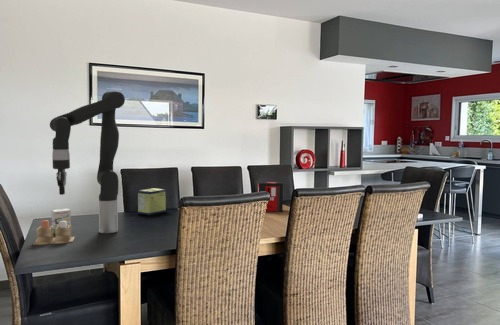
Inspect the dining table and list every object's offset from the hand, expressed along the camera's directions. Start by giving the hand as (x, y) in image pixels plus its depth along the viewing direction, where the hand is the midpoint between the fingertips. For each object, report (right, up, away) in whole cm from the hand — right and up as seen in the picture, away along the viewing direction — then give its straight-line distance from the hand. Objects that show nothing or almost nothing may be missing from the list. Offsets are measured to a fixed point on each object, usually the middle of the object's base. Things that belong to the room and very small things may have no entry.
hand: (62, 194), depth 190 cm
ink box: (-10, -22, +20) cm, 31 cm away
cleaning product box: (+105, -19, +82) cm, 135 cm away
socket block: (-4, -23, 0) cm, 23 cm away
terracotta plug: (-8, -21, -1) cm, 23 cm away
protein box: (+26, -18, +72) cm, 79 cm away
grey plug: (0, -22, +2) cm, 22 cm away
